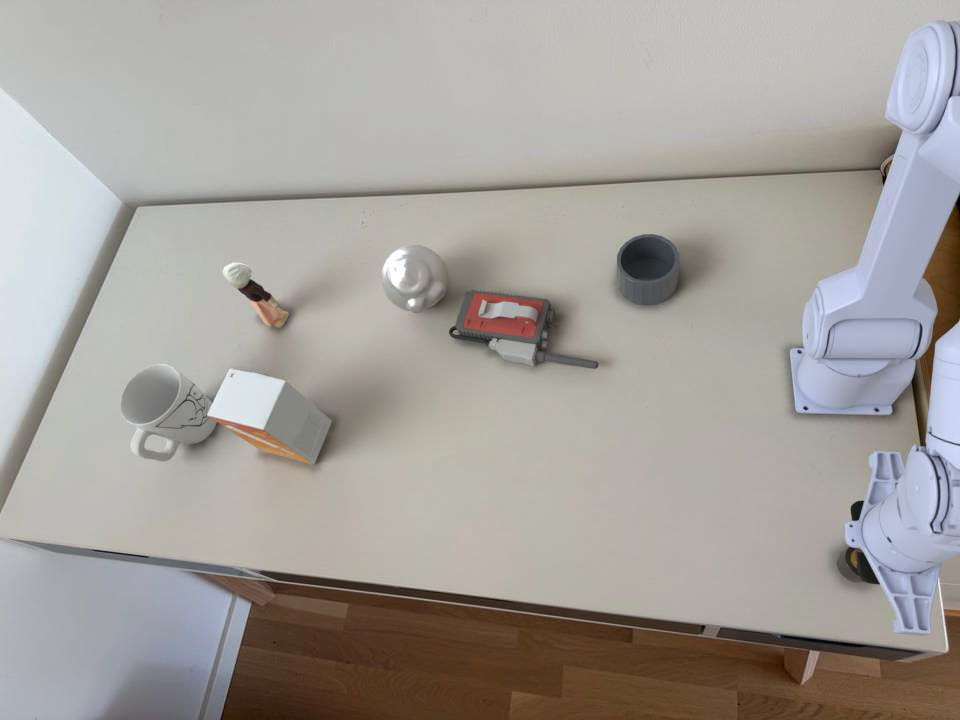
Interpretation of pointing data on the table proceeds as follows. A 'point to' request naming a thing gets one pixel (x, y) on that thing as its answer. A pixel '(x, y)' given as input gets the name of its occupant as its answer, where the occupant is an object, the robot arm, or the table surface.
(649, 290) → the cylindrical container
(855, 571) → the brush
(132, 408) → the mug
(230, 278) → the grandmother figurine
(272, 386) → the small box
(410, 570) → the table surface
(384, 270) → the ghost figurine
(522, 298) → the walkie-talkie
